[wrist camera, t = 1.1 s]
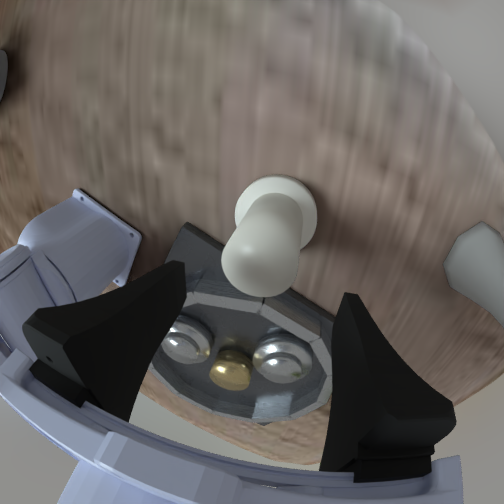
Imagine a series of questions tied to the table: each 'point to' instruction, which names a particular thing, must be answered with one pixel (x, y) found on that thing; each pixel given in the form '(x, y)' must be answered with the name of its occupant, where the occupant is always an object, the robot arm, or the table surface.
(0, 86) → the coffee mug
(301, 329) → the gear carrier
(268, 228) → the white mushroom peg
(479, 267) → the flask
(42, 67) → the table surface
